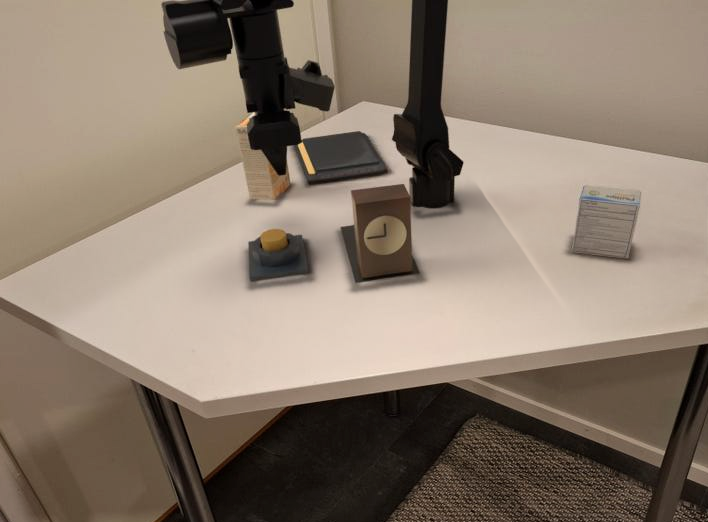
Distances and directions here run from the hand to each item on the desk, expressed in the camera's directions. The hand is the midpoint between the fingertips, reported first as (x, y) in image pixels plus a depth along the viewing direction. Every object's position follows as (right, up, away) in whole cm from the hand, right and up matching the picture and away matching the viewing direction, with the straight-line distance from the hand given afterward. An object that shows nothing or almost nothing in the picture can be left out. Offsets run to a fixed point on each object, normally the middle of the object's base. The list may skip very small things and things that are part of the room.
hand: (281, 174), depth 87 cm
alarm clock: (+14, -7, -2) cm, 16 cm away
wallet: (+5, +13, +33) cm, 35 cm away
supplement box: (-6, +3, +22) cm, 23 cm away
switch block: (-1, -12, +4) cm, 13 cm away
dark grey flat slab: (+13, -10, +5) cm, 17 cm away
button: (-1, -9, +2) cm, 10 cm away
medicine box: (+45, -10, +4) cm, 47 cm away
